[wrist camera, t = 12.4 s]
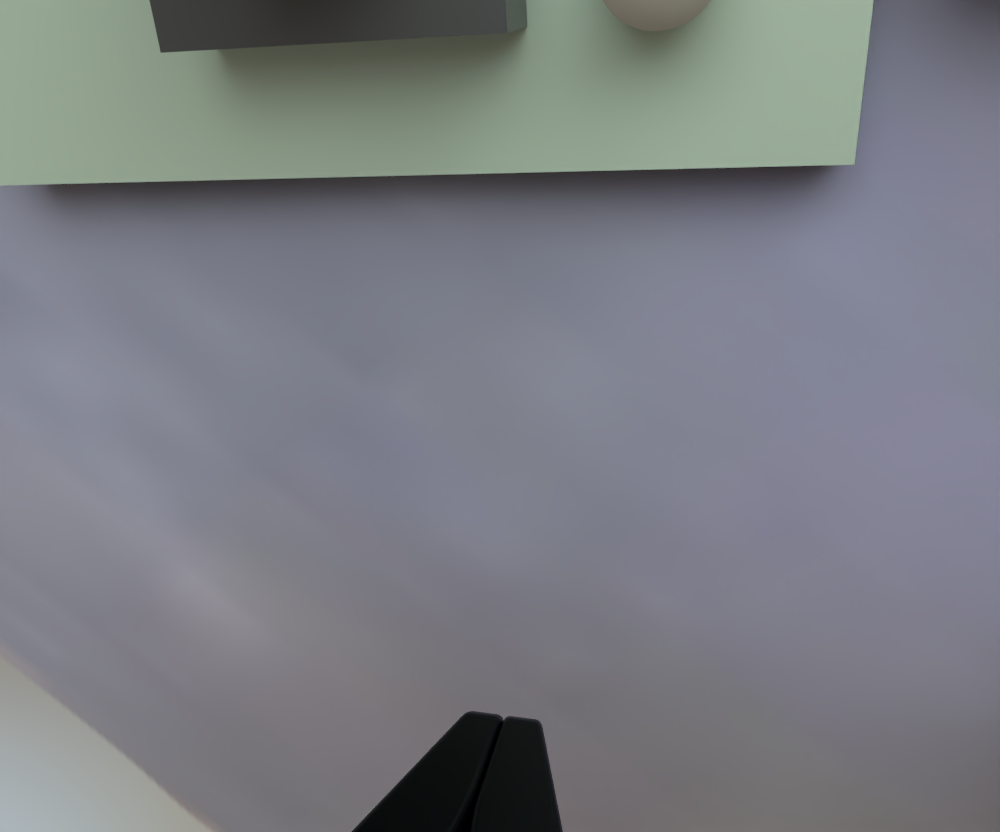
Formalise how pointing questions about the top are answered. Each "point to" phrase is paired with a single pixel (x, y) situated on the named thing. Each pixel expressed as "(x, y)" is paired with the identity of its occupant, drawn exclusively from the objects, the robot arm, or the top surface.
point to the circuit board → (423, 87)
